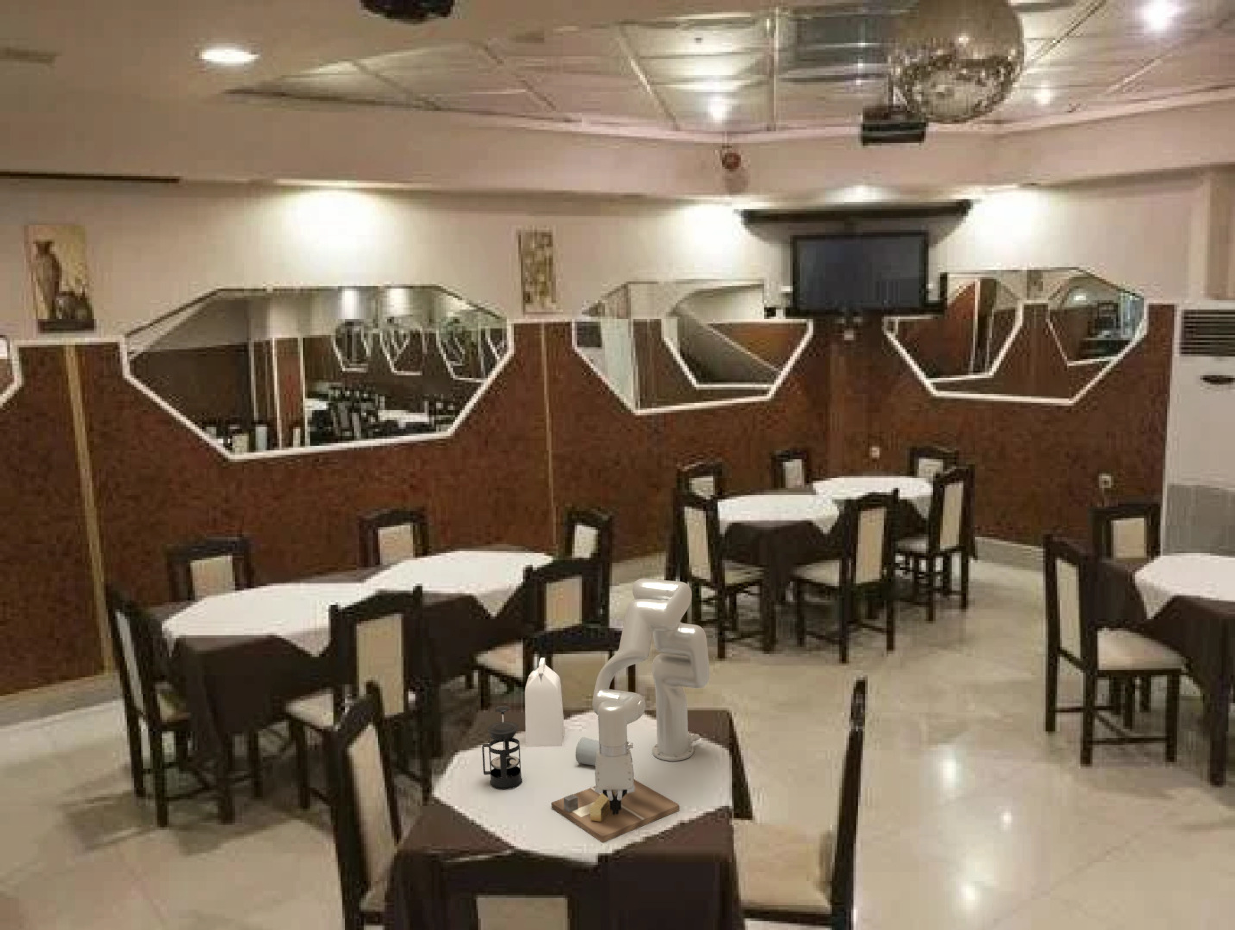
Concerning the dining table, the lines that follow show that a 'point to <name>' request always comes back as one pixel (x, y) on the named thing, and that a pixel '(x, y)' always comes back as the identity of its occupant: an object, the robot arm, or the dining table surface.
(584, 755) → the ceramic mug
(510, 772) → the french press
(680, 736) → the robot arm
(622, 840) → the dining table surface
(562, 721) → the milk
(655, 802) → the board
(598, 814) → the bar
